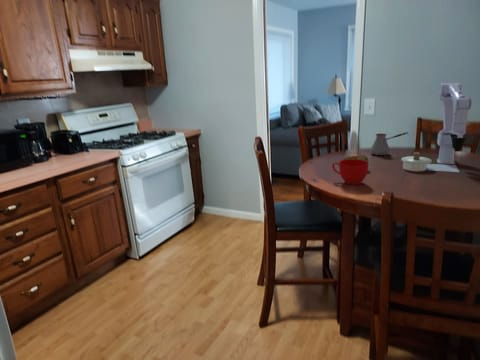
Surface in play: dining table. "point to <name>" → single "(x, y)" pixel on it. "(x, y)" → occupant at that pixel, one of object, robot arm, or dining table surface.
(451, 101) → the robot arm
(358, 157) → the tin
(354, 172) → the ceramic cup
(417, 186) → the dining table surface
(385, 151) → the coffee pot
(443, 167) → the mat
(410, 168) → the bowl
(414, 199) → the dining table surface
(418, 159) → the lid
